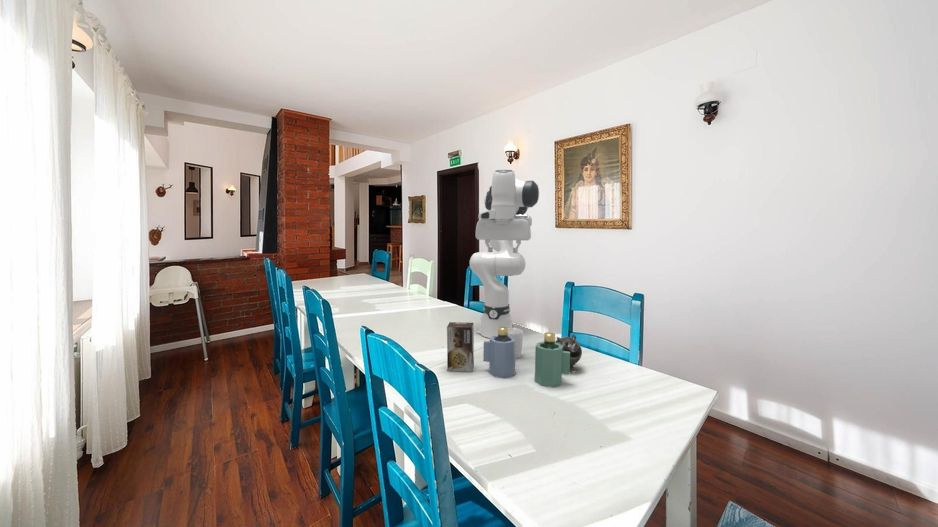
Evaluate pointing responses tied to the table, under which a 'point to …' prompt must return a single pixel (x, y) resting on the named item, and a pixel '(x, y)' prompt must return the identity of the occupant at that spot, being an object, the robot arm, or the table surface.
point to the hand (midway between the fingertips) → (502, 252)
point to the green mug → (551, 364)
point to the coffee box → (460, 346)
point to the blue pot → (500, 356)
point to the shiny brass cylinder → (549, 339)
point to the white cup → (517, 339)
